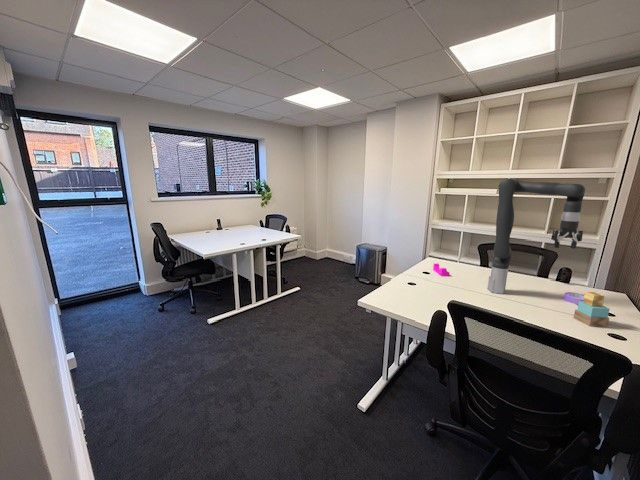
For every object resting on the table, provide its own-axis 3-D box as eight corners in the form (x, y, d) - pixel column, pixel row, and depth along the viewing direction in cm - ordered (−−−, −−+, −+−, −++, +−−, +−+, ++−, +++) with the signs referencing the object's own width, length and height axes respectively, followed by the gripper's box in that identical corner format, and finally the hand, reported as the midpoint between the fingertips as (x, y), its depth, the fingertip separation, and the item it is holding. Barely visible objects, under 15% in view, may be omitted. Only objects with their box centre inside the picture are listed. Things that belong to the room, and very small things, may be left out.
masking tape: (568, 303, 162) (570, 297, 162) (559, 296, 173) (560, 291, 172) (593, 306, 158) (594, 300, 158) (582, 299, 169) (583, 293, 168)
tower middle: (590, 317, 135) (592, 308, 134) (577, 309, 143) (578, 301, 142) (607, 317, 135) (609, 308, 134) (592, 310, 142) (594, 301, 141)
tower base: (589, 326, 136) (591, 317, 135) (573, 318, 144) (575, 309, 143) (607, 326, 135) (609, 318, 134) (590, 318, 144) (592, 309, 143)
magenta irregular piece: (448, 278, 208) (449, 268, 206) (441, 278, 208) (442, 268, 206) (440, 271, 223) (441, 263, 221) (432, 272, 223) (433, 263, 221)
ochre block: (591, 306, 136) (594, 295, 135) (583, 302, 141) (585, 291, 140) (602, 306, 136) (604, 295, 134) (593, 302, 140) (595, 292, 139)
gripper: (561, 220, 145) (556, 249, 148) (589, 221, 143) (583, 250, 147) (551, 219, 152) (546, 246, 155) (578, 219, 151) (572, 247, 154)
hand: (564, 248), depth 151 cm, fingers open, 8 cm apart
